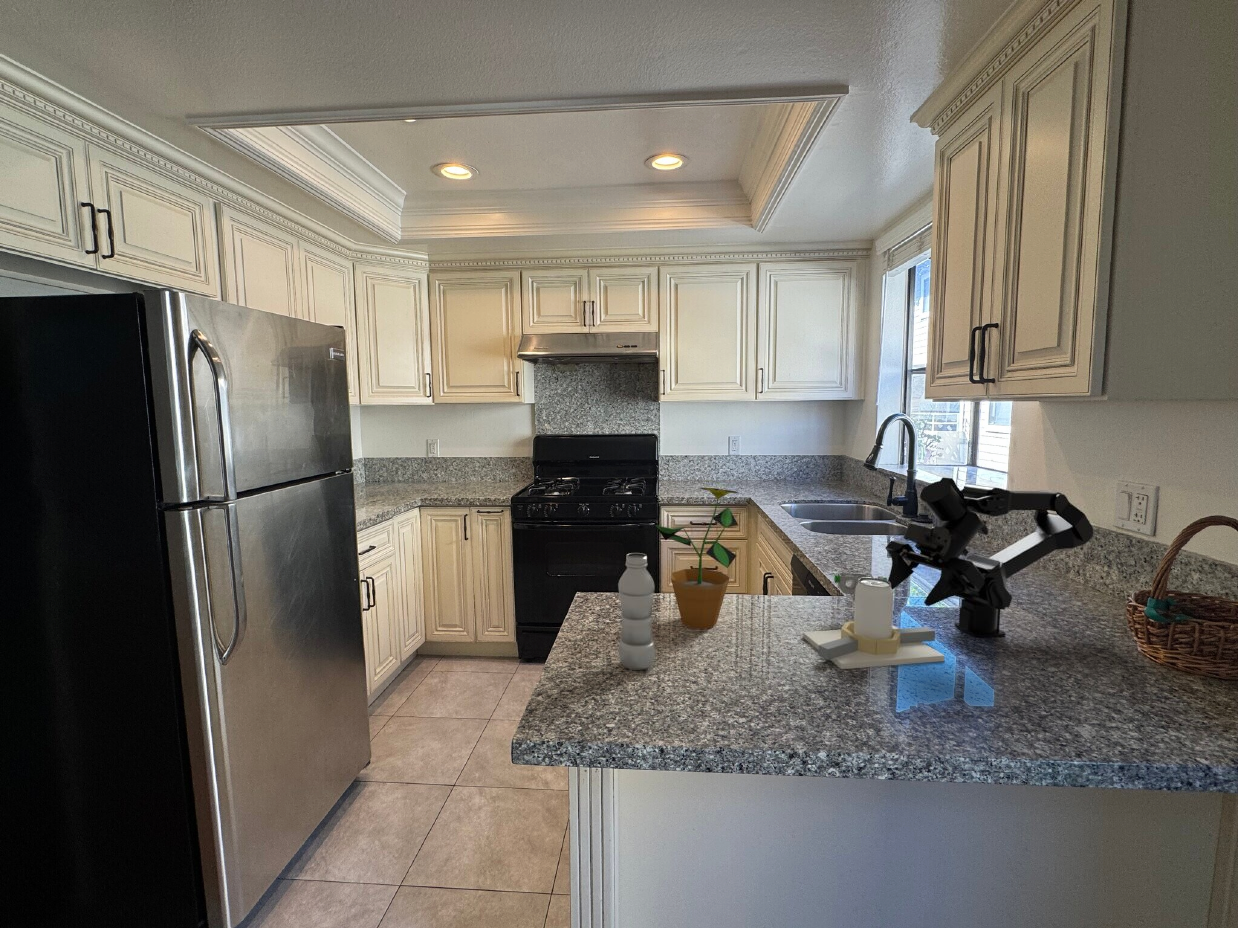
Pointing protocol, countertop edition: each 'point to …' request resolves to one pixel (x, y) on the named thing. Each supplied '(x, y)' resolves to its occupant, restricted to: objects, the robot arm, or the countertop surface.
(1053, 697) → the countertop surface
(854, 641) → the octagonal ring fixture plate
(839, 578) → the mechanical component
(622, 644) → the plastic bottle
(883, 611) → the can
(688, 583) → the potted plant
